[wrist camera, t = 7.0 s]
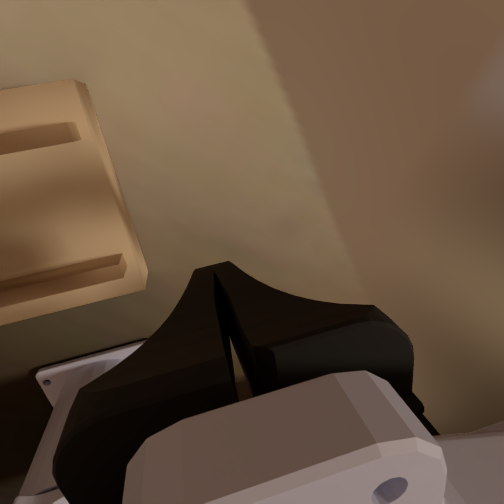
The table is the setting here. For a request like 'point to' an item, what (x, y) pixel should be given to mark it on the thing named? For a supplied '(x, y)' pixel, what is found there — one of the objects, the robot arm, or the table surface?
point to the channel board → (60, 206)
